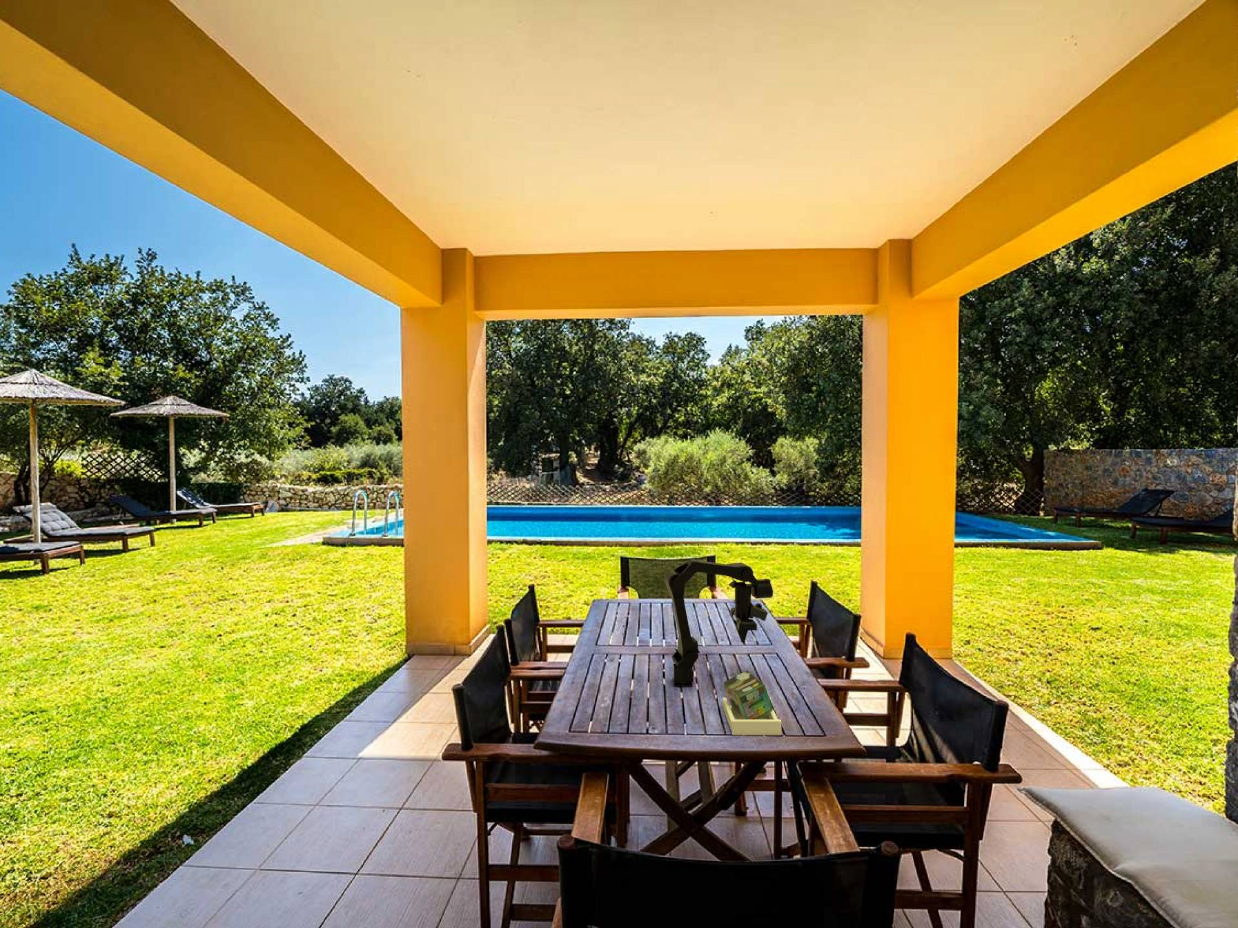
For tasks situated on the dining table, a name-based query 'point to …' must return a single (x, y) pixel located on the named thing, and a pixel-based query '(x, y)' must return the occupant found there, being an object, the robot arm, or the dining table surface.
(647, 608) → the dining table surface
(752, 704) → the chalk box
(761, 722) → the pale yellow tray
